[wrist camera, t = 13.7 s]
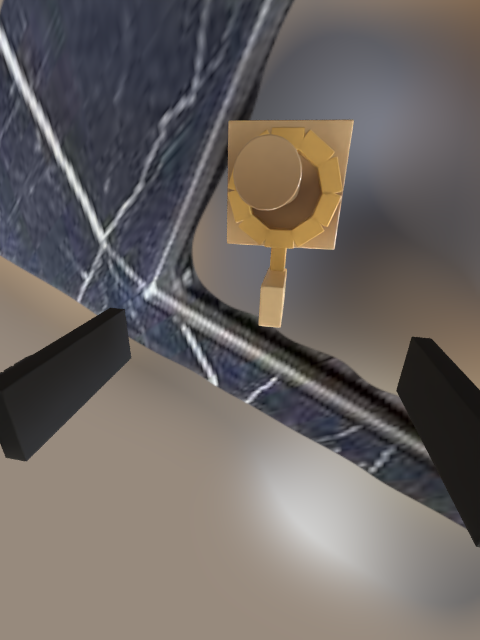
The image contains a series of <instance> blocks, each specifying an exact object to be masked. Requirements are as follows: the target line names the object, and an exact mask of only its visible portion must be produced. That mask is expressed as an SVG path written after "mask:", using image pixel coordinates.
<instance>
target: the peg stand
mask: <svg viewBox="0 0 480 640" xmlns="http://www.w3.org/2000/svg"><path fill="white" fill-rule="evenodd" d="M353 122H354V120H241V121H229V125H228V184H229V181H230V178H231V174H232V171H233V168H234V172H233V176H234V184H235V187H236V190H237V192H238V194H239V196H240V197H241V198H242V200H243V201H244V202H245V203H246V204H248V205H249V206H251V207H252V208H253V212H254V214H255V215H256V216H257V217H258V218H260V219H261V220H262V221H263V222H264V223H265V224H267V225H268V226H269V227H270V228H288V229H292V228H294V227H295V226H297V225H298V224H300V223H301V222H303V221H304V220H306V219H307V218H309V217H310V216H311V215H312V213H313V211H314V208H315V206H316V204H317V202H318V199H319V197H320V195H321V190H320V184H319V179H318V173H317V169H316V168H315V167H314V166H313V165H312V164H311V163H310V162H308V161H307V160H306V159H305V158H304V157H303V156H302V155H301V154H300V153H298V152H297V150H296V149H295V147H294V146H293V145H292V144H291V143H290V142H289V141H288V140H286V139H285V138H283V137H280V136H278V135H272V134H271V131H272V128H273V127H305V135H306V134H307V132H308V131H309V130H312V131H313V132H314V133H315V134H316V135H317V136H318V137H319V138H321V139H322V140H323V141H324V142H325V143H326V144H327V145H328V146H329V147H330V148H332V149H333V150H334V154H333V155H332V156H331V157H330V159H331V158H334V157H338V163H339V170H340V176H341V182H342V189H343V188H344V182H345V175H346V168H347V162H348V155H349V148H350V142H351V135H352V129H353ZM265 130H268V132H269V134H266V135H261V136H259V135H260V134H261V133H263V132H264V131H265ZM305 135H304V136H305ZM234 164H235V165H234ZM231 191H234V190H232V189H229V188H228V192H231ZM335 194H338V195H340V196H342V195H343V191H341V192H338V193H335ZM341 202H342V197H341V199H340V202H339V204H338V206H337V208H336V210H335V212H334V215H333V217H332V219H331V221H330V223H329V225H328V227H326V226H323V225H321V226H322V228H323V230H324V231H323V232H322V233H320V234H319V235H317V236H315V237H314V238H312V239H311V240H309V241H307V242H306V243H304V244H303V245H301V246H299V247H297V246H296V244H295V242H294V247H296V248H314V249H331V250H333V249H334V248H335V241H336V235H337V228H338V221H339V215H340V208H341ZM227 209H228V210H227V211H228V212H227V243H228V244H244V245H259V244H258V243H257V242H256V241H254V240H253V239H252V238H251V237H250V236H248V235H247V234H246V233H245V232H244V231H243V230H241V229H240V228H239V227H238V226H239V225H240V223H241V222H242V221H240V222H237V223H236V222H235V219H234V215H233V212H232V208H231V204H230V201H229V197H228V202H227ZM264 245H265V240H264V242H263V243H262V244H261V246H264Z"/></svg>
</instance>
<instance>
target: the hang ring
mask: <svg viewBox="0 0 480 640" xmlns="http://www.w3.org/2000/svg"><path fill="white" fill-rule="evenodd" d="M266 134H269V132H268V130H265V131H264V132H263V133H261V134H260V135H259V136H261V135H266ZM271 134H272V135H278V136H280V137H283V138H285V139H286V140H288V141H289V142H290V143H291V144H292V145H293V146H294V147H295V149H296V150H297V152H298V153H300V154H301V155H302V156H303V157H304V158H305V159H306V160H307V161H308V162H310V163H311V164H312V165H313V166H314V167H315V168H316V169H317V173H318V179H319V184H320V190H321V195H320V197H319V199H318V202H317V204H316V206H315V208H314V211H313V213H312V215H311V216H310V217H309V218H307V219H306V220H304V221H303V222H301V223H300V224H298V225H297V226H295V227H294V228H292V229H288V228H270V227H269V226H268V225H267V224H265V223H264V222H263V221H262V220H261V219H260V218H258V217H257V216H256V215H255V214H254V212H253V208H252V207H251V206H249V205H248V204H246V203H245V202H244V201H243V200H242V198H241V197H240V196H239V194H238V192H237V190H236V187H235V184H234V176H233V172H234V168H233V171H232V174H231V178H230V181H229V184H228V188H229V189H232V190H234V191H231V192H228V197H229V201H230V204H231V208H232V212H233V215H234V219H235V222H236V223H237V222H240V221H242V222H241V223H240V225H239V226H238V227H239V228H240V229H241V230H243V231H244V232H245V233H246V234H247V235H248V236H250V237H251V238H252V239H253V240H254V241H256V242H257V243H258V244H259V245H261V244H262V243H263V242H264V240H265V245H264V246H265V247H271V261H270V268H268V271H267V273H266V276H265V278H264V280H263V283H262V285H261V292H260V293H261V294H260V309H259V326H269V327H279V328H280V327H281V321H282V313H283V305H284V296H285V286H286V275H287V269H285V260H286V259H285V258H286V249H287V248H290V249H293V247H294V242H295V244H296V246H297V247H299V246H301V245H303V244H304V243H306V242H307V241H309V240H311V239H312V238H314V237H315V236H317V235H319V234H320V233H322V232H323V231H324V230H323V228H322V226H321V225H323V226H326V227H328V225H329V223H330V221H331V219H332V217H333V215H334V212H335V210H336V208H337V206H338V204H339V202H340V199H341V197H342V196H340V195H338V194H335V193H338V192H341V191H343V189H342V182H341V176H340V170H339V163H338V157H334V158H331V159H330V157H331V156H332V155H333V154H334V150H333V149H332V148H330V147H329V146H328V145H327V144H326V143H325V142H324V141H323V140H322V139H321V138H319V137H318V136H317V135H316V134H315V133H314V132H313V131H312V130H309V131H308V132H307V134H306V135H305V127H273V128H272V131H271ZM304 135H305V136H304ZM234 165H235V164H234Z"/></svg>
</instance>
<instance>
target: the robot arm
mask: <svg viewBox="0 0 480 640" xmlns="http://www.w3.org/2000/svg"><path fill="white" fill-rule="evenodd" d="M129 359H131V353H130V346H129V338H128V331H127V323H126V316H125V309H117V308H109V309H107V310H106V311H104V312H102V313H101V314H99V315H98V316H96V317H94V318H93V319H91V320H89V321H88V322H86V323H84V324H83V325H81V326H79V327H78V328H76V329H74V330H73V331H71V332H70V333H68V334H66V335H65V336H63V337H61V338H60V339H58V340H56V341H55V342H53V343H51V344H50V345H48V346H46V347H45V348H43V349H42V350H40V351H38V352H36V353H35V354H33V355H31V356H28V357H26V358H24V359H22V360H21V361H19V362H17V363H16V364H14V366H11V367H9V368H7V369H6V370H4V372H1V373H0V444H1V446H2V449H3V452H4V454H5V457H6V458H11V459H16V460H21V461H27V460H28V459H29V458H30V457H31V456H32V455H33V454H34V453H35V452H37V451H38V450H39V449H40V448H41V447H42V446H43V445H44V444H45V443H46V442H47V441H48V440H49V439H50V438H51V437H52V436H53V435H54V434H55V433H56V432H57V431H58V430H59V429H60V428H61V427H62V426H63V425H64V424H65V423H66V422H67V421H68V420H69V419H70V418H71V417H72V416H73V415H74V414H75V413H76V412H77V411H78V410H79V409H80V408H81V407H82V406H83V405H84V404H85V403H86V402H87V401H88V400H89V399H90V398H91V397H92V396H93V395H94V394H95V393H96V392H97V391H98V390H99V389H100V388H101V387H102V386H103V385H104V384H105V383H106V382H107V381H108V380H109V379H110V378H111V377H113V375H115V373H116V372H118V371H119V370H120V369H121V367H123V366H124V365H125V364H126V363H127V362H128V361H129ZM397 393H398V395H399V397H400V399H401V401H402V402H403V404H404V406H405V408H406V410H407V412H408V414H409V416H410V418H411V420H412V422H413V424H414V426H415V428H416V430H417V432H418V434H419V436H420V438H421V440H422V442H423V444H424V446H425V448H426V450H427V451H428V453H429V455H430V457H431V459H432V461H433V463H434V465H435V467H436V469H437V471H438V473H439V475H440V477H441V479H442V481H443V483H444V485H445V487H446V489H447V491H448V493H449V495H450V497H451V498H452V500H453V502H454V504H455V506H456V508H457V510H458V512H459V514H460V516H461V518H462V520H463V522H464V524H465V526H466V528H467V530H468V532H469V534H470V535H471V538H472V540H473V542H474V543H475V545H476V547H480V390H479V389H478V388H477V387H476V386H475V385H474V383H473V382H472V381H471V380H470V379H469V378H468V377H467V376H466V375H465V374H464V373H463V372H462V371H461V370H460V369H459V368H458V366H457V365H456V364H455V363H454V362H453V361H452V360H451V359H450V358H449V357H448V356H447V355H446V354H445V353H444V352H443V350H442V349H441V348H440V347H439V346H438V345H437V344H436V343H435V342H434V341H433V340H432V339H430V338H420V337H412V338H411V341H410V345H409V348H408V352H407V355H406V359H405V362H404V366H403V369H402V372H401V376H400V379H399V383H398V387H397Z"/></svg>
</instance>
